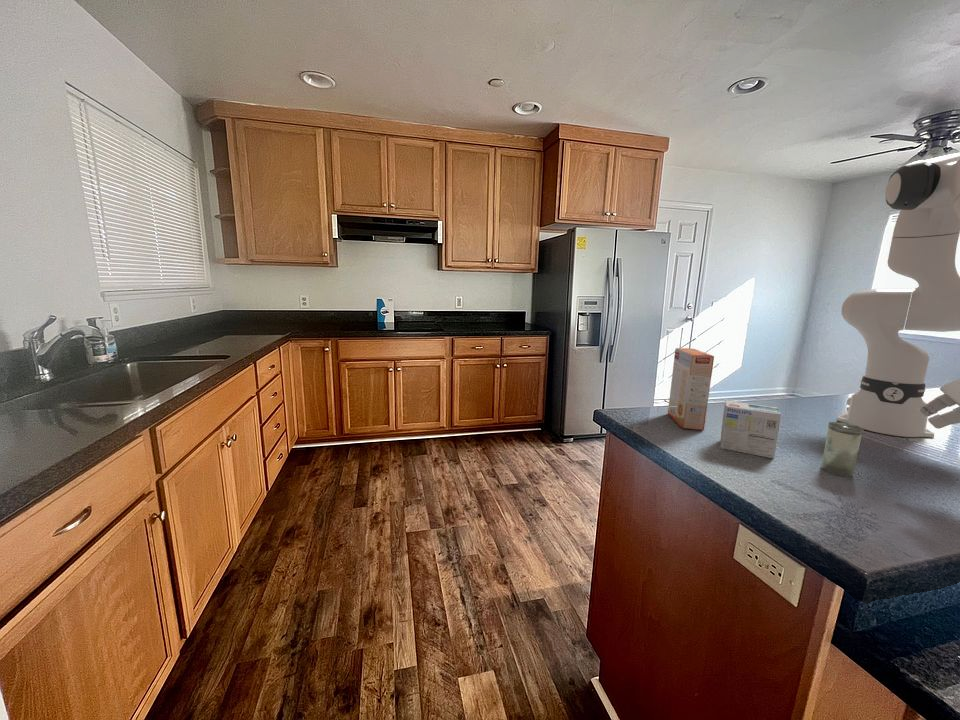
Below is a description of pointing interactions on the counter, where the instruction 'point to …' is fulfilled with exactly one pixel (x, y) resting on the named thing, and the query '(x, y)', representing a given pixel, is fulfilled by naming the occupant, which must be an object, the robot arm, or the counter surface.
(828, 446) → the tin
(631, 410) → the counter surface
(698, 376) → the cracker box
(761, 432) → the light bulb box
